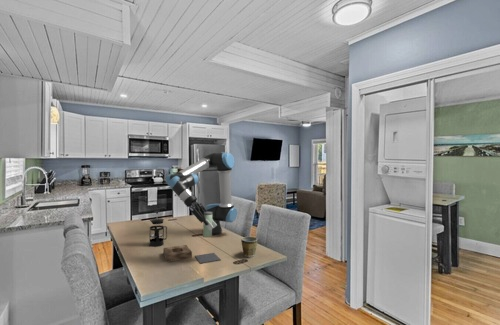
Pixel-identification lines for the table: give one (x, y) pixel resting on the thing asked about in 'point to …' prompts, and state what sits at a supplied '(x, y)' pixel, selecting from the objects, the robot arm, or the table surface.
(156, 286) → the table surface
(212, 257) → the mat
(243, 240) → the ceramic cup
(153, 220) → the french press
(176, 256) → the socket block
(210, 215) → the plug
